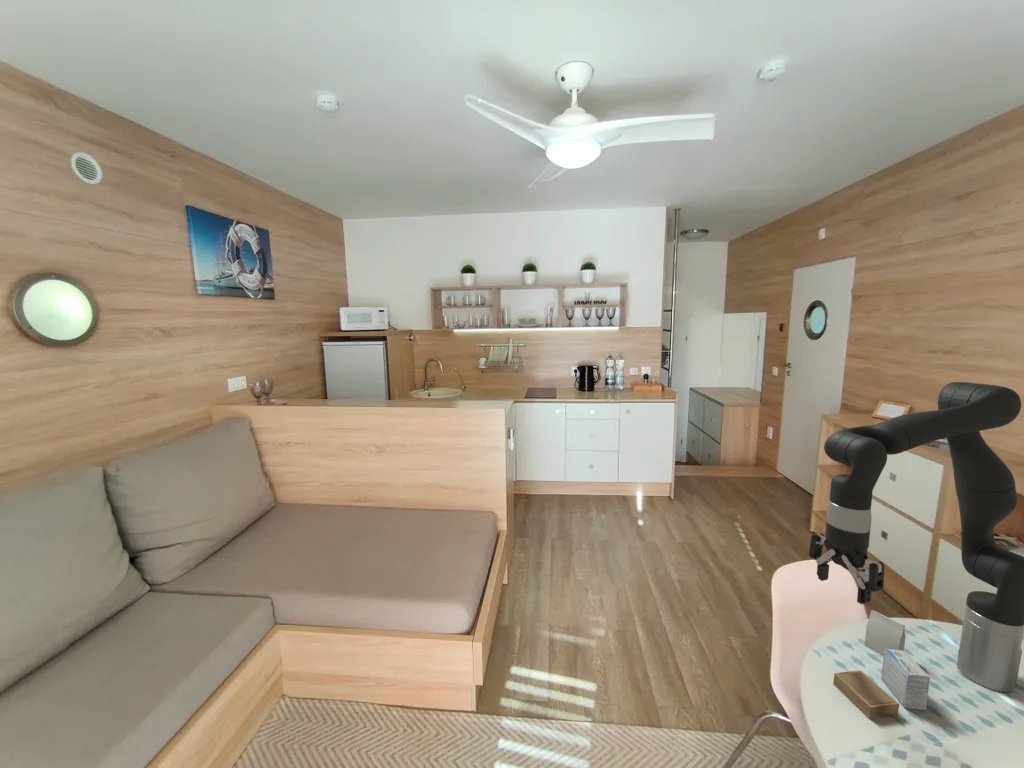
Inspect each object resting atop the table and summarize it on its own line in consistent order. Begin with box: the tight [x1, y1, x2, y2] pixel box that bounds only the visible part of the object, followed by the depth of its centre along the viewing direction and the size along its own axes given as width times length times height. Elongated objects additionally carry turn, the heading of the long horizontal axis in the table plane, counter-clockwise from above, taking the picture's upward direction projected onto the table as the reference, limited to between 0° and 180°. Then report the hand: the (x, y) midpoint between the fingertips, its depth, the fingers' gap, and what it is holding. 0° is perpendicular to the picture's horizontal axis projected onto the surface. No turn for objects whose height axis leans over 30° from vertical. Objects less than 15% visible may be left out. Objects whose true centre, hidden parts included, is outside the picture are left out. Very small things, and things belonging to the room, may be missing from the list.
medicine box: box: [880, 649, 931, 711], centre depth 95 cm, size 8×4×9 cm, turn 168°
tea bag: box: [864, 609, 906, 657], centre depth 108 cm, size 4×7×10 cm, turn 28°
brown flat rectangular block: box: [832, 669, 900, 720], centre depth 95 cm, size 7×9×3 cm
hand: (841, 590), depth 92 cm, fingers open, 8 cm apart
